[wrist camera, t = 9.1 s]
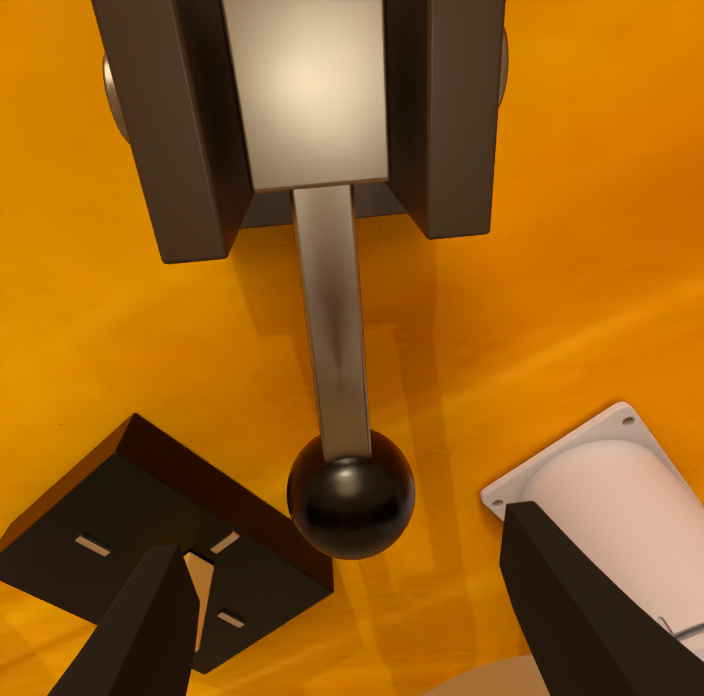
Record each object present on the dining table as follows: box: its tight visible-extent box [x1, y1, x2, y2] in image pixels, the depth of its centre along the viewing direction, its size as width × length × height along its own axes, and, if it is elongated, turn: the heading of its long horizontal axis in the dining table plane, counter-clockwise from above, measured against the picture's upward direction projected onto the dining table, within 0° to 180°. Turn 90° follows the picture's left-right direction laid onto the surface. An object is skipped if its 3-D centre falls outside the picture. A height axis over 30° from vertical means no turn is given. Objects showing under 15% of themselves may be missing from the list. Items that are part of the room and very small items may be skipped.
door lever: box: [218, 0, 415, 560], centre depth 10 cm, size 12×3×3 cm, turn 4°
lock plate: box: [0, 413, 334, 674], centre depth 23 cm, size 12×9×3 cm
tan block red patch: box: [184, 552, 214, 652], centre depth 20 cm, size 5×1×4 cm, turn 131°
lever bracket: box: [91, 0, 508, 264], centre depth 11 cm, size 8×7×10 cm
